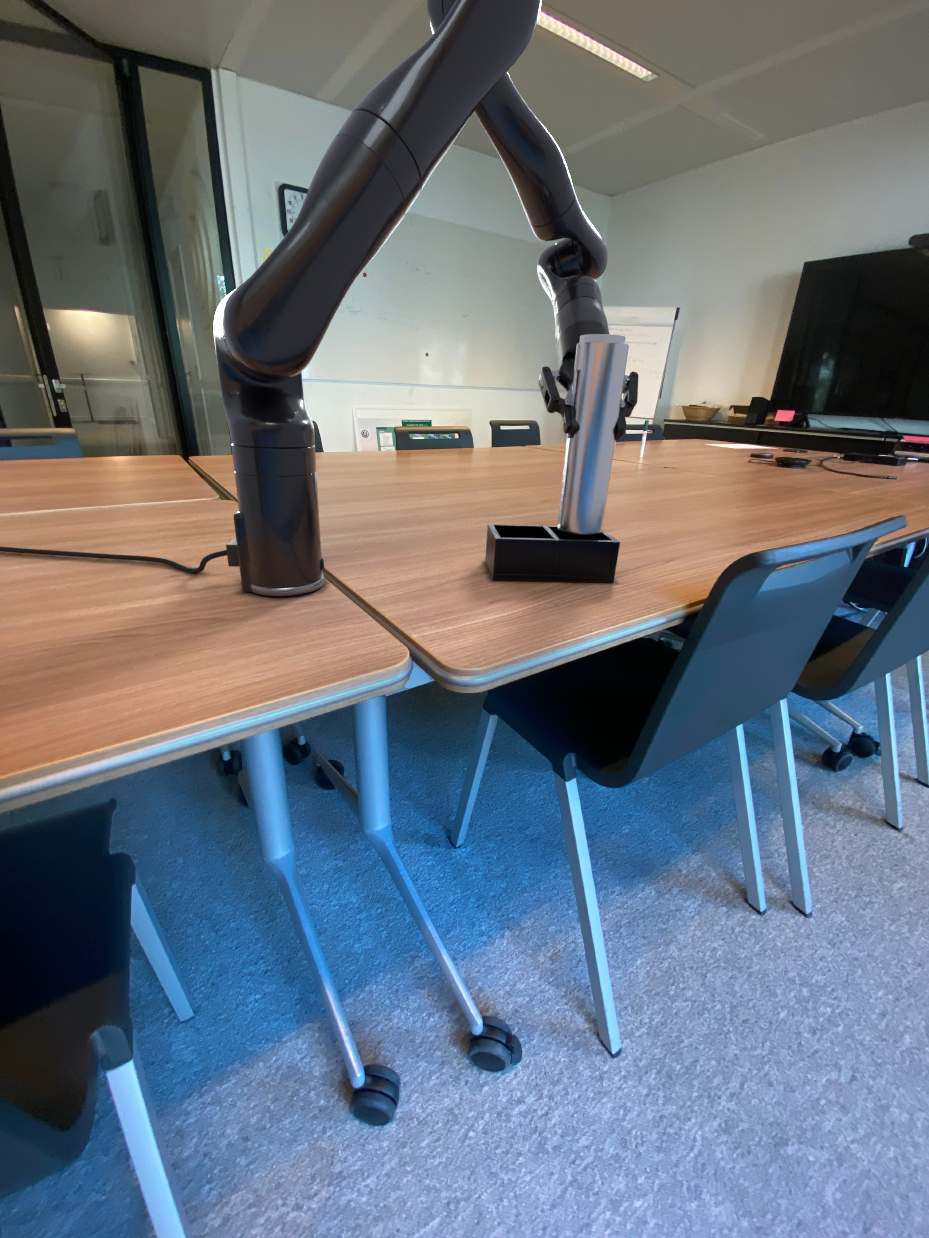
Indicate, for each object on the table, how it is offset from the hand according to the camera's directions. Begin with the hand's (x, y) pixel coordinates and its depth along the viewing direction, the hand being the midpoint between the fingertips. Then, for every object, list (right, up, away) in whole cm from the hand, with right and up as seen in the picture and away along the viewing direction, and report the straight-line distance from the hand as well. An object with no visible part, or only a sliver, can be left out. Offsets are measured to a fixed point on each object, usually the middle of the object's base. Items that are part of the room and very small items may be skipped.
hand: (595, 434), depth 70 cm
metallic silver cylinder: (-1, -12, +7) cm, 14 cm away
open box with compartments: (-5, -17, +9) cm, 20 cm away
